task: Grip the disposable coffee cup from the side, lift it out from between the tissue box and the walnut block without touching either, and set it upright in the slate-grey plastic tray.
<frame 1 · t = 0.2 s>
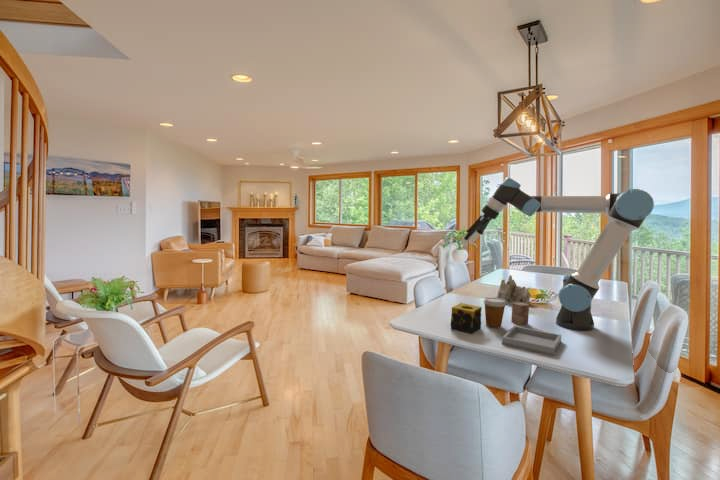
hand: (466, 244, 181), 35 cm above the table, tool tilted 35°, fingers open, 13 cm apart
disposable coffee cup: (493, 326, 166), on the table
tissue box: (465, 329, 161), on the table
walnut block: (519, 322, 172), on the table
grey jagged rock: (511, 302, 210), on the table
slate tray: (531, 342, 146), on the table
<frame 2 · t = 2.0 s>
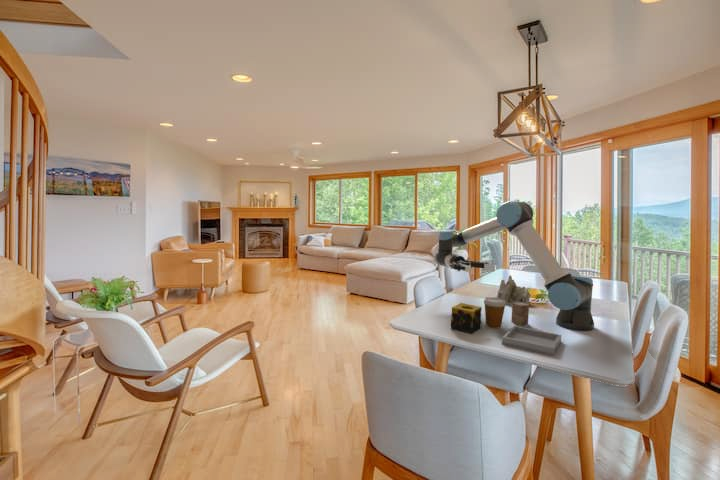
hand: (482, 269, 173), 24 cm above the table, tool horizontal, fingers open, 13 cm apart
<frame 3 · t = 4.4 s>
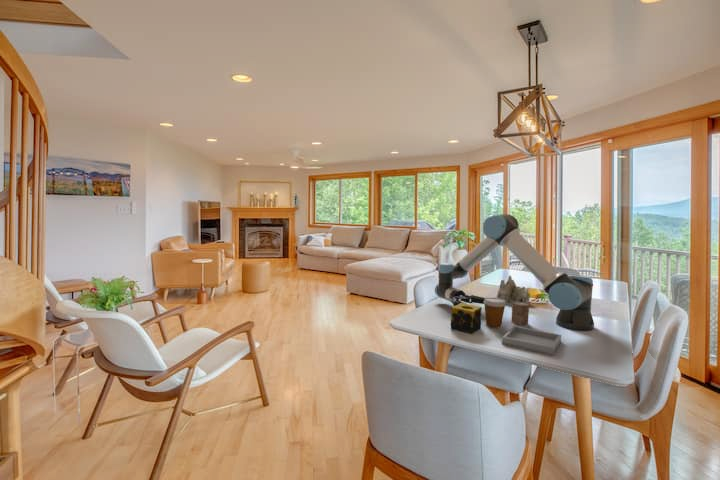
hand: (482, 306, 173), 7 cm above the table, tool horizontal, fingers open, 13 cm apart
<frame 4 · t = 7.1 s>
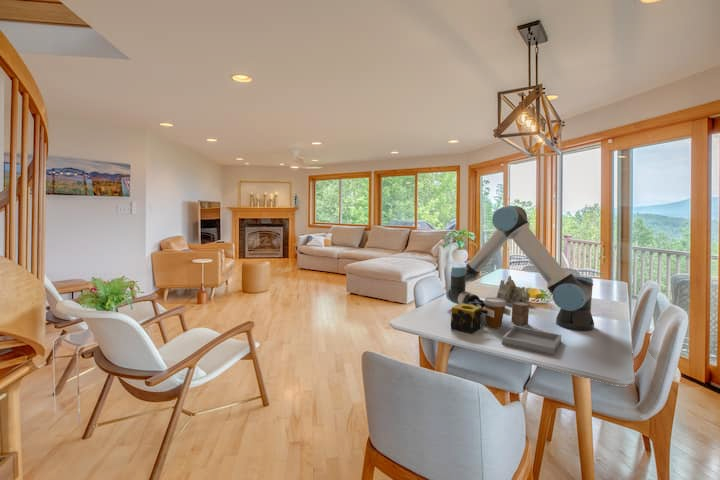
hand: (501, 313, 161), 7 cm above the table, tool horizontal, fingers closed on disposable coffee cup, 8 cm apart
disposable coffee cup: (493, 326, 166), on the table, touching gripper
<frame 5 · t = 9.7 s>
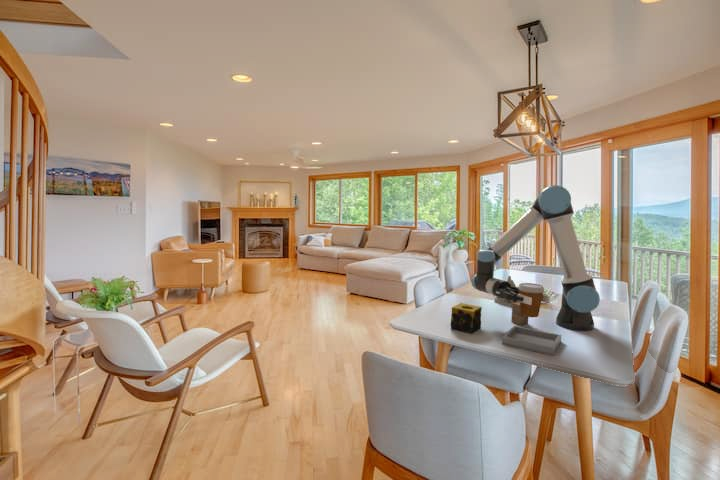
hand: (540, 300, 141), 18 cm above the table, tool horizontal, fingers closed on disposable coffee cup, 8 cm apart
disposable coffee cup: (529, 315, 146), point 11 cm above the table, touching gripper
when the fingers open (9 cm above the table, at t = 12.4 s): disposable coffee cup drops 1 cm, resting on slate tray.
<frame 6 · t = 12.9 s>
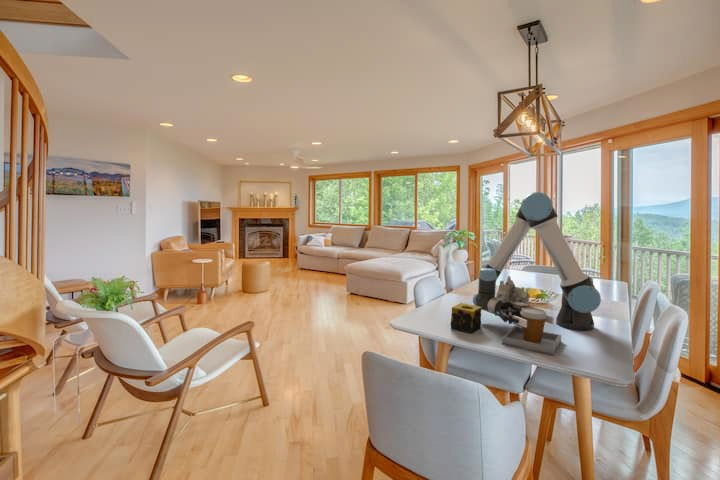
hand: (540, 322, 142), 9 cm above the table, tool horizontal, fingers open, 13 cm apart
disposable coffee cup: (532, 341, 146), point 1 cm above the table, touching slate tray
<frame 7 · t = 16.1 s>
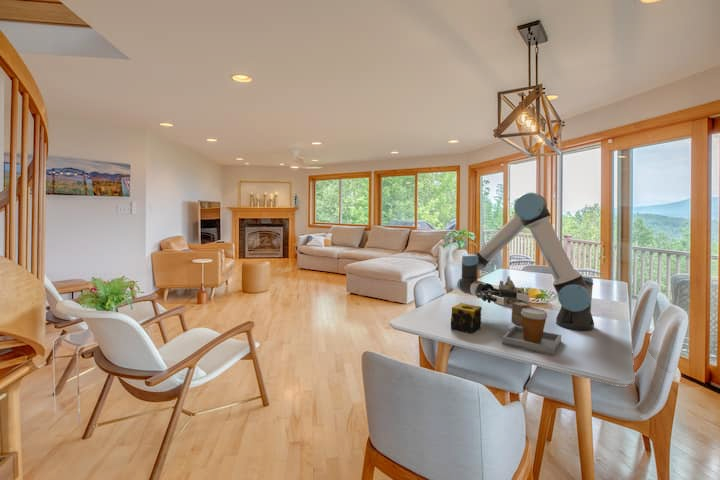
hand: (516, 300, 153), 15 cm above the table, tool horizontal, fingers open, 13 cm apart
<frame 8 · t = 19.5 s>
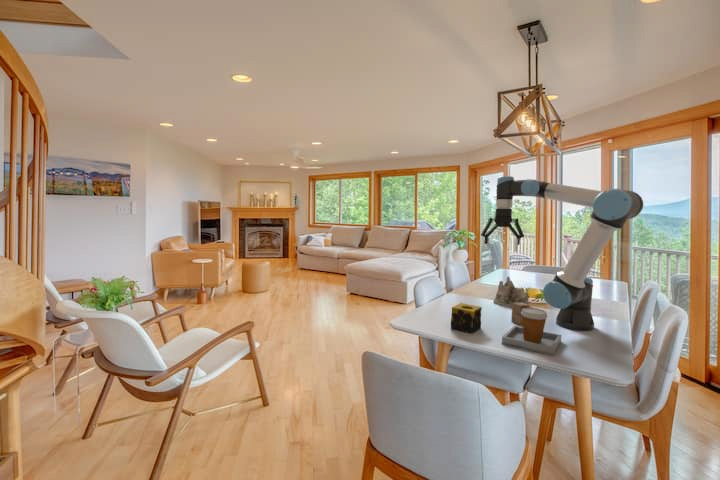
hand: (501, 251, 184), 32 cm above the table, tool pointing down, fingers open, 13 cm apart
at the end: disposable coffee cup inside the target area on the slate tray (0.5 cm from its centre), point 0.6 cm above the slate tray's base; disposable coffee cup tilted 0°; tissue box moved 0.3 cm from its start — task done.
